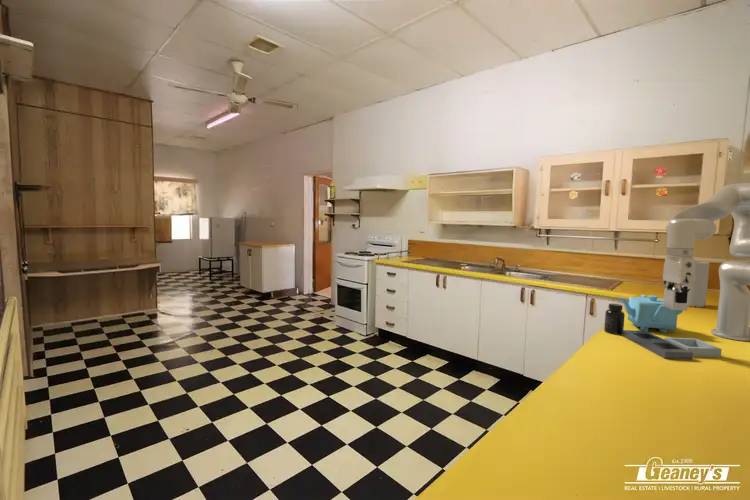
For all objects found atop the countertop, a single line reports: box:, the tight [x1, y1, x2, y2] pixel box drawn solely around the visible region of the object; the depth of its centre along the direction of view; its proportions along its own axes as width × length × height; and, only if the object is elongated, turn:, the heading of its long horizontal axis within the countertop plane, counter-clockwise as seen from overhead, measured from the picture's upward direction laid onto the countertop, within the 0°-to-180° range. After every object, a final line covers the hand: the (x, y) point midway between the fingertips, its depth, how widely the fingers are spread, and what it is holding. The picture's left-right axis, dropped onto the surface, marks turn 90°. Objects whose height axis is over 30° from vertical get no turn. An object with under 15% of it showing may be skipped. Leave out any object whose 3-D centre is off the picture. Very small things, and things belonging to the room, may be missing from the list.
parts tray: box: [664, 336, 722, 358], centre depth 130 cm, size 11×11×3 cm
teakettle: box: [617, 294, 684, 334], centre depth 157 cm, size 19×19×15 cm
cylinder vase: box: [682, 260, 710, 308], centre depth 202 cm, size 12×12×25 cm
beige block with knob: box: [662, 286, 689, 311], centre depth 132 cm, size 5×5×8 cm
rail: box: [621, 329, 694, 361], centre depth 134 cm, size 24×9×2 cm, turn 176°
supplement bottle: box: [603, 303, 626, 335], centre depth 151 cm, size 7×7×12 cm
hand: (675, 300), depth 132 cm, fingers closed on beige block with knob, 5 cm apart
